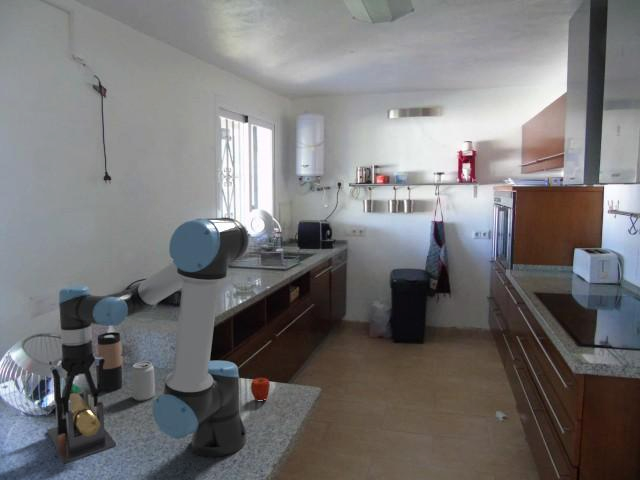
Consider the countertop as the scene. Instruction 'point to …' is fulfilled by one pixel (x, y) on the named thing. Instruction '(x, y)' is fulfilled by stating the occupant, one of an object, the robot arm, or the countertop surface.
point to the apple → (260, 388)
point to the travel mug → (111, 360)
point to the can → (142, 381)
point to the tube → (83, 416)
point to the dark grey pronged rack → (78, 435)
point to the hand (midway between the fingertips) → (81, 420)
